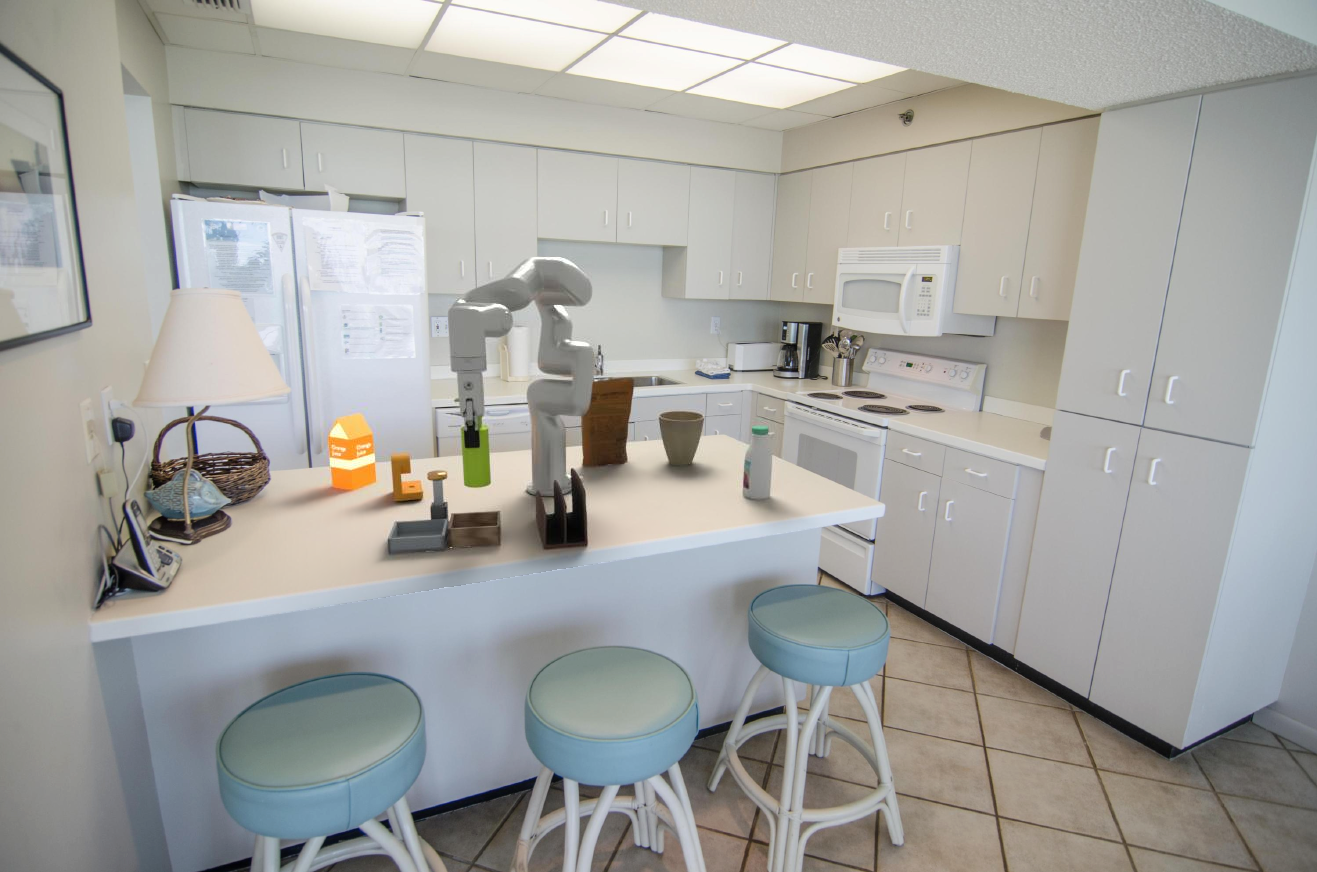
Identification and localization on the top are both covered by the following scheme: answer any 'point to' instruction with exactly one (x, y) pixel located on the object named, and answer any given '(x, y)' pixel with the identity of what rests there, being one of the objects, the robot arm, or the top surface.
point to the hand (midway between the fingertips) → (473, 442)
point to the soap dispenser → (476, 458)
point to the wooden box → (474, 529)
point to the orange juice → (351, 453)
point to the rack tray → (418, 536)
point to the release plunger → (437, 486)
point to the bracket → (404, 489)
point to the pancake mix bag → (607, 422)
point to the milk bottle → (758, 465)
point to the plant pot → (681, 435)
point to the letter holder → (564, 517)
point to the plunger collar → (439, 512)
